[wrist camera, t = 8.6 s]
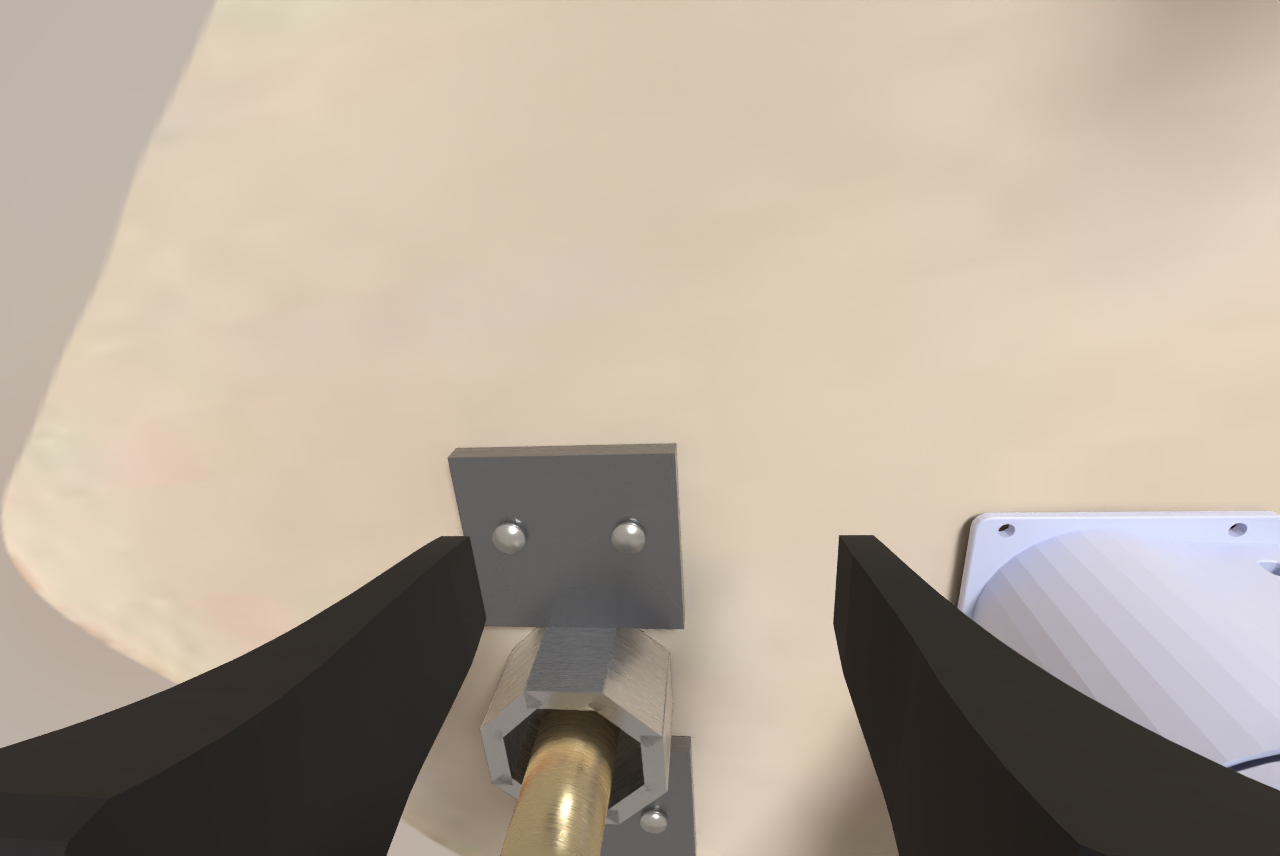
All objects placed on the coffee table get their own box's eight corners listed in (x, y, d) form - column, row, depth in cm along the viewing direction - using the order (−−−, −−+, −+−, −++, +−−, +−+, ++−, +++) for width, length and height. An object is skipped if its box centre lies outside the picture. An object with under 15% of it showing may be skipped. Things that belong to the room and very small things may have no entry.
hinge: (456, 448, 22) (405, 503, 18) (676, 443, 21) (670, 500, 17) (535, 839, 30) (511, 931, 26) (696, 848, 29) (694, 946, 25)
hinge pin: (628, 648, 24) (594, 852, 17) (628, 702, 26) (596, 913, 18) (556, 641, 25) (493, 839, 17) (559, 695, 26) (501, 901, 19)
